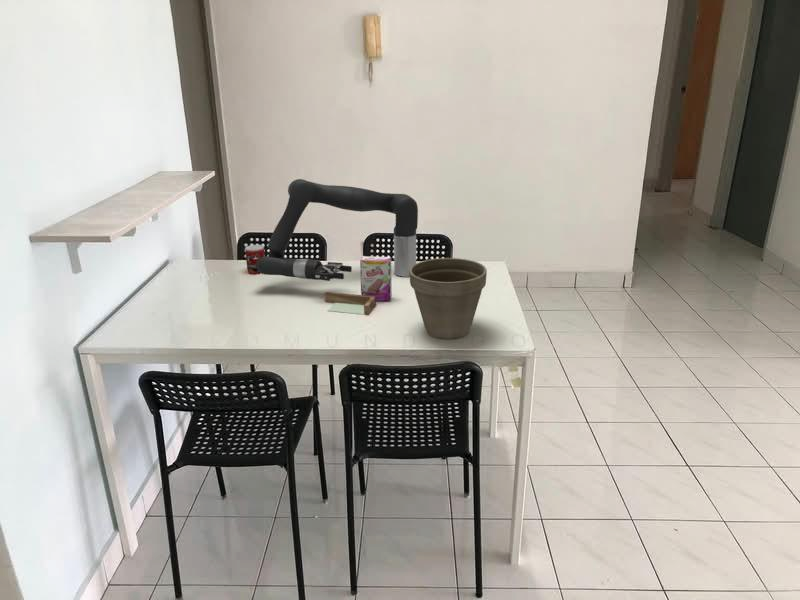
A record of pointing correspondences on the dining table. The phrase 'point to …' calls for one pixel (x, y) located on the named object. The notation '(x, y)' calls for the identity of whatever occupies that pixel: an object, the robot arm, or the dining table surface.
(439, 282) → the plant pot
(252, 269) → the canned food
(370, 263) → the candy bar box
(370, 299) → the brown l-shaped piece
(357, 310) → the pad
